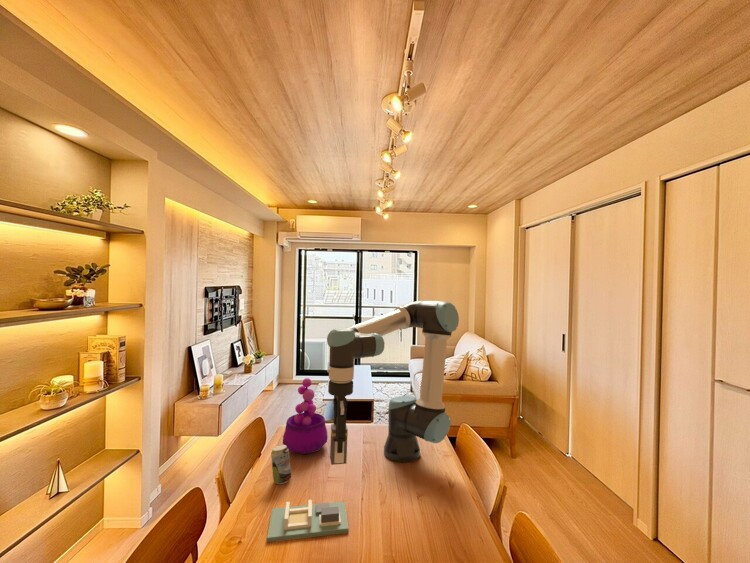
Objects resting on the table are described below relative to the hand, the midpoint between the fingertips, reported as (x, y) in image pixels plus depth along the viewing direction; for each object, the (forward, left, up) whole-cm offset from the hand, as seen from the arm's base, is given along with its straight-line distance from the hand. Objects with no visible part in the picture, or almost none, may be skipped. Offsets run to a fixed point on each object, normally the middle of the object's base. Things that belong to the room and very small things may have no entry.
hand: (338, 457), depth 99 cm
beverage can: (+18, -22, -18) cm, 33 cm away
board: (+8, +1, -17) cm, 19 cm away
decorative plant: (+10, -45, -18) cm, 49 cm away
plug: (0, 0, -1) cm, 1 cm away
